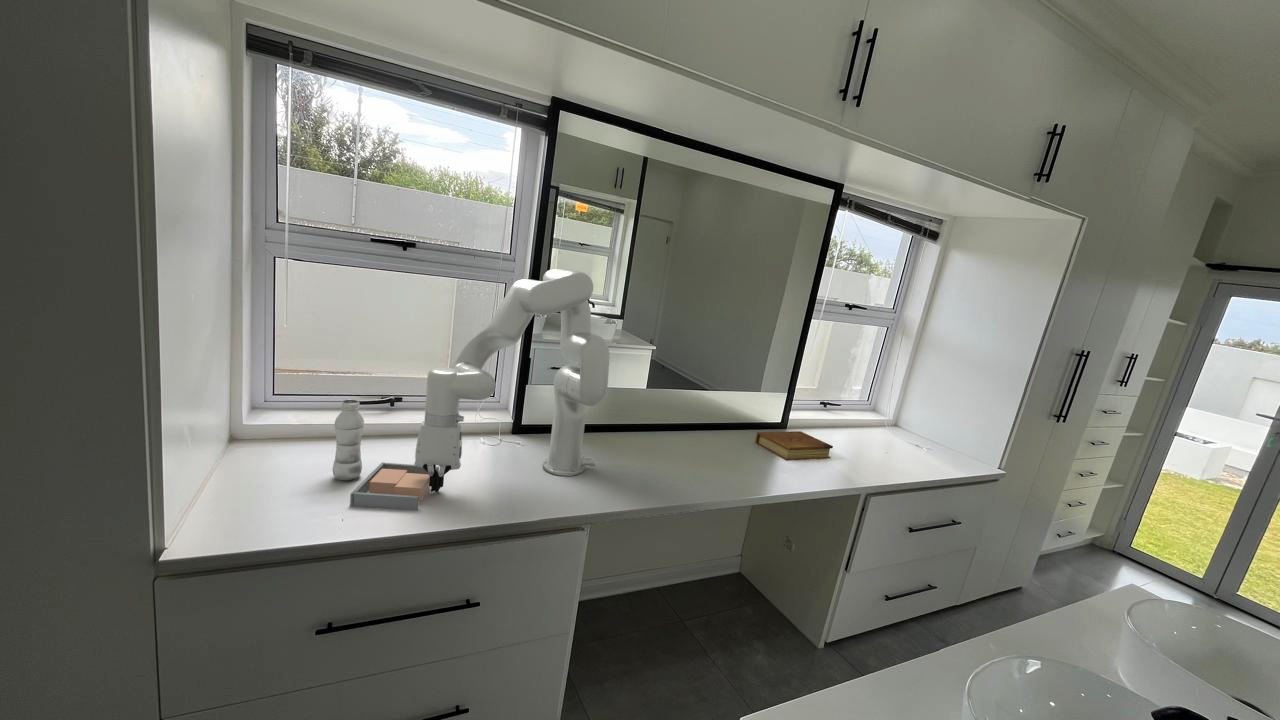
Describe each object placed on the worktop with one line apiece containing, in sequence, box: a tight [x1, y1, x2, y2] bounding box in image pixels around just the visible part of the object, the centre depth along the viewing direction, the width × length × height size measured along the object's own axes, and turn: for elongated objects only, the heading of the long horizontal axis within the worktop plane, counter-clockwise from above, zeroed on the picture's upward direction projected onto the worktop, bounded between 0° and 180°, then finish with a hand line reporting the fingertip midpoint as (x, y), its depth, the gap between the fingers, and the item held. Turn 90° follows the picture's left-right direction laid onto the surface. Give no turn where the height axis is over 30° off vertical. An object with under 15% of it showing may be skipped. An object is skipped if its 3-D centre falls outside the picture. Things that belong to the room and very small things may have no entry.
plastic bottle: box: [332, 399, 365, 481], centre depth 122 cm, size 6×7×20 cm
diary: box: [754, 430, 834, 462], centre depth 197 cm, size 23×19×6 cm
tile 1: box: [368, 469, 407, 495], centre depth 120 cm, size 6×8×4 cm
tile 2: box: [394, 473, 431, 503], centre depth 120 cm, size 6×8×4 cm
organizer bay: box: [349, 462, 440, 511], centre depth 120 cm, size 14×18×3 cm
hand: (436, 489), depth 122 cm, fingers closed
